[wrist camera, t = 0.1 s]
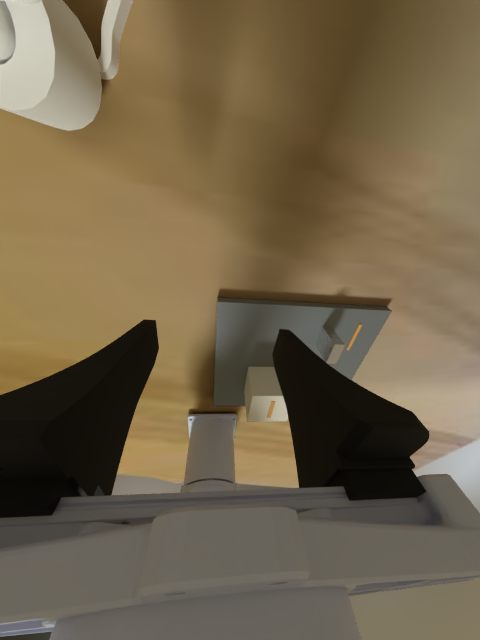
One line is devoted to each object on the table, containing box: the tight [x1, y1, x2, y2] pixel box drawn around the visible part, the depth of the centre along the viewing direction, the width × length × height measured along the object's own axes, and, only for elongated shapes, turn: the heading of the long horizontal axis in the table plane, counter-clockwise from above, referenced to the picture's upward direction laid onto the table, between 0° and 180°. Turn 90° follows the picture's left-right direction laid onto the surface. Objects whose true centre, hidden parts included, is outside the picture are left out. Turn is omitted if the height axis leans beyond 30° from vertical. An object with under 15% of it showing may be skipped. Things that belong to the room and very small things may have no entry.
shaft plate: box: [213, 297, 392, 406], centre depth 26 cm, size 18×20×4 cm
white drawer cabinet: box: [244, 367, 288, 422], centre depth 26 cm, size 5×5×5 cm
